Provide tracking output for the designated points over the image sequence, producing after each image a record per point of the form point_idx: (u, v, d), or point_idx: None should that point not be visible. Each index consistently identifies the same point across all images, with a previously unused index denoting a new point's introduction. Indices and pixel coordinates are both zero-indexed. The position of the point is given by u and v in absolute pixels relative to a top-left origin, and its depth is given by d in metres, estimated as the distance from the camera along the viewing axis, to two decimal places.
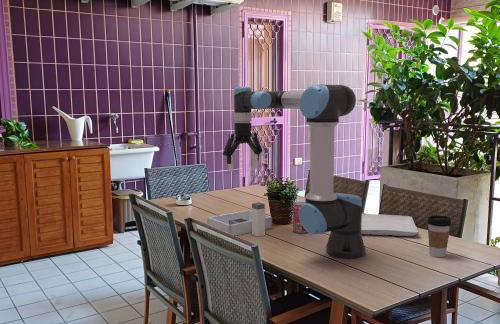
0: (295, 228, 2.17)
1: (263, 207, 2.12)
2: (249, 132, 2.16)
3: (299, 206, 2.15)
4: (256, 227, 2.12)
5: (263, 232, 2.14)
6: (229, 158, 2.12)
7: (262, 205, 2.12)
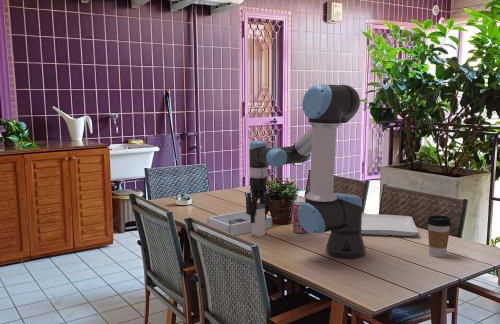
0: (295, 228, 2.17)
1: (263, 207, 2.12)
2: (265, 186, 2.13)
3: (299, 206, 2.15)
4: None
5: (263, 232, 2.14)
6: (253, 217, 2.11)
7: (262, 205, 2.12)
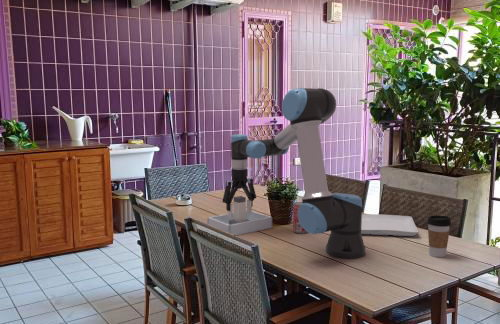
0: (295, 228, 2.17)
1: (244, 200, 2.24)
2: (246, 177, 2.24)
3: (299, 206, 2.15)
4: (237, 220, 2.24)
5: None
6: (228, 205, 2.20)
7: (243, 198, 2.23)
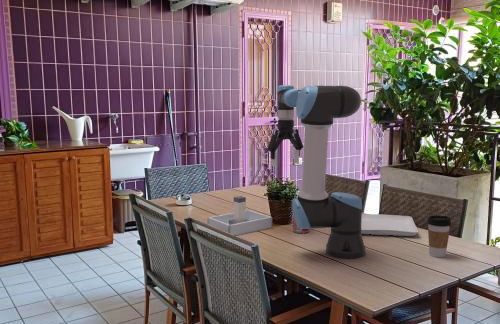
0: (295, 228, 2.17)
1: (244, 200, 2.24)
2: (291, 129, 2.25)
3: None
4: (237, 220, 2.24)
5: None
6: (273, 153, 2.21)
7: (243, 198, 2.23)
